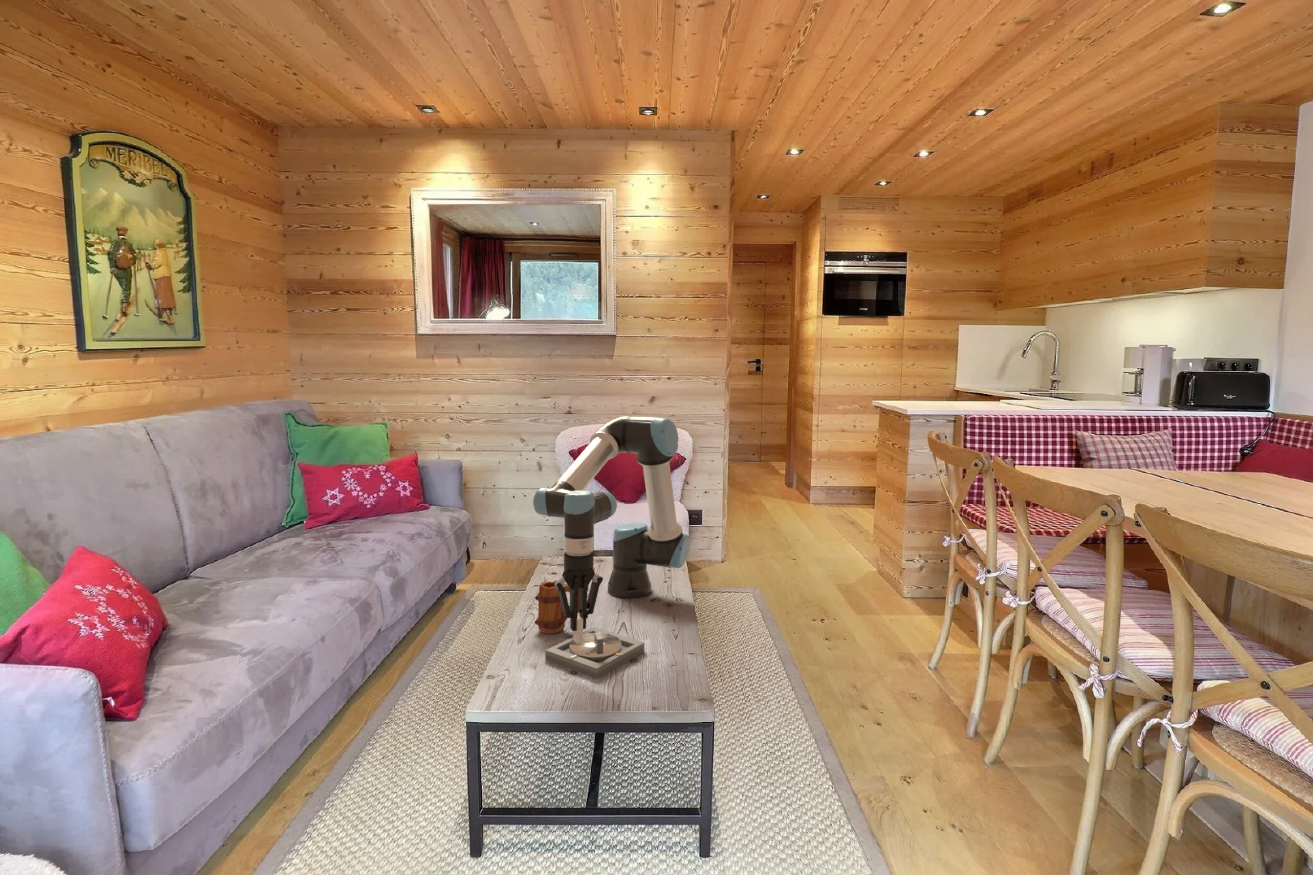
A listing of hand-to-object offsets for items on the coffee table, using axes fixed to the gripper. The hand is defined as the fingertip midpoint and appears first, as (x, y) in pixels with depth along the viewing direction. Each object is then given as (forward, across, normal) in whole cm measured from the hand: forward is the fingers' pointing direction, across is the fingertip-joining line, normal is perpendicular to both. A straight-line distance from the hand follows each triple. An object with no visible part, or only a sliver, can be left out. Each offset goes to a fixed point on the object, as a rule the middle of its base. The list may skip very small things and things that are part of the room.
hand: (578, 641), depth 176 cm
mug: (+8, +5, +27) cm, 28 cm away
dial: (+6, +7, +6) cm, 11 cm away
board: (+7, +8, +6) cm, 12 cm away
